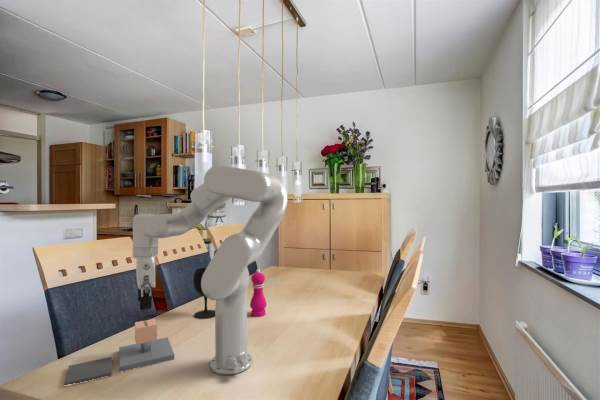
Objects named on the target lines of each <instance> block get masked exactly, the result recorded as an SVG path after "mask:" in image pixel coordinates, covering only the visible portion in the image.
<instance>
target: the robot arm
mask: <svg viewBox="0 0 600 400" xmlns="http://www.w3.org/2000/svg"><path fill="white" fill-rule="evenodd" d="M189 197H190V200H191V202H190V203H189V204H188V205H187V206H185V207H184V208H183V209H181V210H180V211H177V212H176V213H163V214H154V213H149V214H148V213H140V214H136V215H134V216H133V218H132V258H134V259H136V260H135V261H136V264H135V265H136V267H135V268H136V269H135V270H136V283H137V288H138V289H137V301H138V302H139V310H140V311H143V310H144V311H145V310H151V309H152V305H153V304H152V303H153V302H152V298H153V297H152V288H153V289H155V288H156V257H158V256H159V239H165V238H171V237H178V236H181V235H185V234H186V233H189V231H191V230H192V229H194V228H195V227H197V226H198V225H199V224H201V223H202V222H203V221H204V220H205V218H207V217H208V215H209V214H210V213H211V212H213V211H214V210H215V209H217V208H218V207H220V206H221V205H223V204H224V203H226V202H227V201H229V200H230V199H231V198H232V199H238V200H242V201H247V202H248V201H249V202H256V203H259V204H258V206H257V208H256V209H255V210H254V211H253V212H252V214H251V216H250V218H248V221H247V223H246V224H245V225H244V227H243V228H242V230H241V231H239V232H237V233H236V232H235V233H233V234H230V235H228V236H227V237H226V238H225V239H224V240H223V241H222V242H221V244H220V245H219V247H218V249H217V250H216V251H215V253H214V255H213V257H212V258H211V260H210V262H209V264H208V265H207V266H206V267H205V268H206V270H205V272H204V274H203V276H202V279H201V288H202V291H203V293H204V295H205V296H206V297H207V299H209V300H211V301H215V304H214V305H215V306H214V307H215V309H214V310H215V317H214V318H215V319H214V320H215V321H214V323H215V324H214V325H215V327H214V330H215V331H214V333H215V334H214V336H215V338H214V340H215V341H214V342H215V343H214V344H215V346H214V349H215V351H214V352H215V355H214V357H213V358H212V359H211V360H210V363H209V368H210V370H211V371H212V372H213V373H216V374H220V375H227V376H228V375H229V376H230V375H236V374H239V373H241V372H244V371H246V370H248V369H249V368H250V367H251V366H252V364H253V356H252V355H251V354H250V353H248V295H249V294H248V292H249V284H250V272H249V269H248V266H249V265H251V264H252V263H254V262H255V261H258V259H259V258H260V257H261V256H262V254H263V252H264V250H265V249H266V247H267V245H268V244H269V242H270V241H271V239H272V238H273V235H274V233H275V231H276V230H277V228H278V227H279V225H280V223H281V222H282V220H283V218H284V217H285V214H286V210H287V207H288V195H287V191H286V188H285V186H284V184H283V183H282V182H281V180H280V179H279V178H278V177H276V176H274V175H272V174H269V173H266V172H262V171H257V170H253V169H246V168H240V167H234V166H233V167H232V166H228V165H224V164H217V165H213V166H211V167H210V168H208V170H206V173H205V174H204V176H203V183H202V184H200V185H199V186H197V187H195V188H194V189H193V190H192V191H191V193H190V196H189Z"/></svg>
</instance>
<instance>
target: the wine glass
mask: <svg viewBox="0 0 600 400" xmlns="http://www.w3.org/2000/svg"><path fill="white" fill-rule="evenodd" d="M206 268H207V267H201V268H197V269H195V271H194V275H193V281H192V282H193V286H194V289H195V291H196V292H197V293H198V294H199V295H201V296H202V298H204V310H200V311H196V312H195V313H193V318H195V319H199V320H207V319H212V318H215V309H214V310H213V309H208V298H207V297H206V296H205V295H204V293H203V291H202V288H201V279H202V276H203V274H204V272H205V270H206Z"/></svg>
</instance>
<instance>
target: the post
mask: <svg viewBox="0 0 600 400" xmlns="http://www.w3.org/2000/svg"><path fill="white" fill-rule="evenodd" d="M149 351H151V342H146V343H141V353H147V352H149Z"/></svg>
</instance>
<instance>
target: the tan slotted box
mask: <svg viewBox="0 0 600 400" xmlns="http://www.w3.org/2000/svg"><path fill="white" fill-rule="evenodd" d="M157 339H158V323H157V321H156V318H152V319H146V320H140V321H136V322H134V340H135V344H136V345H137V344H141V343H146V342H151V341H156V340H157Z"/></svg>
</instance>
